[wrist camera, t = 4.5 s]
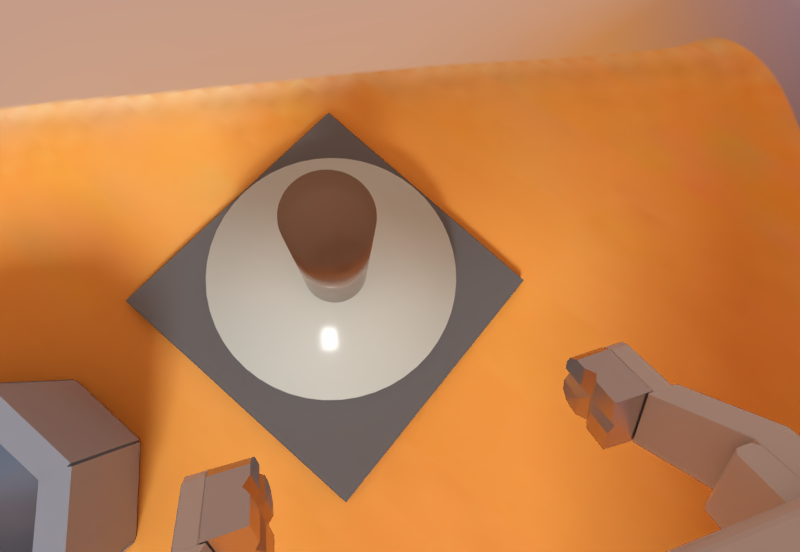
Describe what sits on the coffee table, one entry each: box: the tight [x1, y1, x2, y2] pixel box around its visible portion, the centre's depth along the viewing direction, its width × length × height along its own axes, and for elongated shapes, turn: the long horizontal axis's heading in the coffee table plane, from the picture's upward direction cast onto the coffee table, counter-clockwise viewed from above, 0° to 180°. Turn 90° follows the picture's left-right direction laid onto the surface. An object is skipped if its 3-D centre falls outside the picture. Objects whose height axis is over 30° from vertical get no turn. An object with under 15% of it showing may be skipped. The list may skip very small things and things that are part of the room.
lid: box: [206, 158, 456, 400], centre depth 17 cm, size 12×12×9 cm
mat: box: [126, 113, 523, 502], centre depth 22 cm, size 14×14×1 cm
